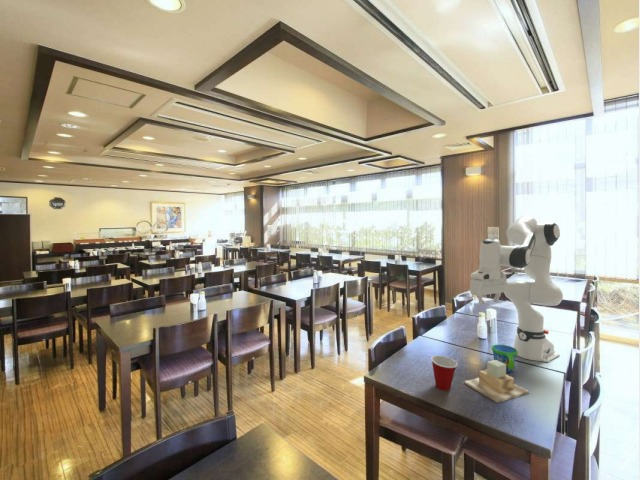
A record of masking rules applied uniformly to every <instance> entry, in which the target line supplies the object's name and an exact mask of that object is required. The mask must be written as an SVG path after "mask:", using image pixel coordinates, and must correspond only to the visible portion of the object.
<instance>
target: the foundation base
mask: <svg viewBox="0 0 640 480" xmlns="http://www.w3.org/2000/svg"><path fill="white" fill-rule="evenodd" d="M478 374H479V375H478V377H475V378H473V379H468V380H465V381H464V384H465V385H467V386H469V387H470V388H472V389H473V390H475V391H477V392H479V393H480V394H481V395H483V396H485V397H486V398H488V399H490V400H492V401H494V402H495V403H496V404H498V403H502V402H505V401H508V400H511V399H512V400H513V399H515V398H518V397H521V396H525V395H528V394H530V393H529V392H530V391H529V390H528V389H525V388H524V387H522V386H519V385H517V384H516V383H514V381H515V378H514V377H512V376H511V375H508V374H506V376H504V377H501V378H496V377H494V376H492V375H490V374H488V373H487V368H486V369H483V370H480V371H479V373H478Z"/></svg>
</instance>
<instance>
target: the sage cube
mask: <svg viewBox="0 0 640 480" xmlns="http://www.w3.org/2000/svg"><path fill="white" fill-rule="evenodd" d="M486 363H487V364H486V369H487V373H488V374H490V375H492V376H494V377H496V378H501V377H504V376H506V375H507V372H506V364H504V363H502V362H499V361H497V360H494V359H492V360H489V361H487V362H486Z"/></svg>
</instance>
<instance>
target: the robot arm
mask: <svg viewBox="0 0 640 480" xmlns="http://www.w3.org/2000/svg"><path fill="white" fill-rule="evenodd" d="M559 227H560V226H559V225H558V224H556V223H555V222H537V219H535V218H534V216H530V215H524V216H521V217H518V219H516V220H515V221H513V222H512V223H511V224H510V225H509V227H508V228H507V229H506V233H505V234H506V238H507V239H508V240H509V242H511V243H512V244H513V245H514V246H513V245H502V244H501V241H500V239H495V238H489V239H488V238H487V239H486V238H485V239H484V240H482V241H481V243H480V248H479V253H478V254H479V255H478V256H479V257H478V258H479V266H478V269H477V270H475V271H473V272H472V273H470V278H471V280H470V283H469V284H470V285H469V291H470V294H471V295H472V296H475V297H476V298H477V300H478V304H479V305H484V304H485V300H484V299H483V298H484V296H486V295H492V294H493V295H494V297H493V298H492V301H493V302H494V303H499V302H500V298H501V296H502V293H504V295H505V297H506V298H507V299H508V300H510V301H511V303H513V305H514V307H515V309H516V312H517V320H518V321H517V322H518V323H517V328H516V335H515V338H514V345H513V346H512V347H513V348H515V349H516V350H517V352H518V354H517V355H516V356H518V357H520V358H522V359H526V360H530V361H535V362H536V361H537V362H544V363H549V362H551V361H553V360H554V359H557V358H559V357H560V353H558V352H557V351H555V345H554V343H553V342H552V341H550V339H548V338H547V337H546V335H549V333H550V331H549V330H546V329H544V321H545V320H544V319H545V318H544V315H543V314H542V313H541V312H540V311H538V310H537V309H535V308H534V307H533V306H532V304H535V305H541V306H545V307H546V306H547V307H548V306H552V307H554V306H558V305H560V304H561V302H562V301H563V297H564V295H563V292H562V290H561V289H560V287H558V286H557V285H556V284H555V283H554V282H553V281H552V279H551V277H550V269H551V262H552V247H551V246H553V245H554V244H555V243H556V242H557V241H558V240H559V238H560V236H561V233H560V231H561V230H560V228H559ZM515 245H516V246H515ZM501 266H502V267H511V268H517V269H523V272H524V274H525V275H527V277H529V278H530V279H533V280H534V282H533V281H532V282H531V281H524V280H523V281H522V280H511V281H509V280H508V281H507V275H506V274H505V273H504V272H501V268H502V267H501Z"/></svg>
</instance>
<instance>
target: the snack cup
mask: <svg viewBox="0 0 640 480" xmlns="http://www.w3.org/2000/svg"><path fill="white" fill-rule="evenodd" d="M491 350H492V353H493V356H492V357H493V360H497V361H499V362H502V363H504V364H506V373H511V372H513V371H514V369H515V363H516V358H517V356H518V355H517V354H518V352H517V350H516V349H515V348H513V346H510V345H504V344H494V345H492V346H491Z"/></svg>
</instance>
